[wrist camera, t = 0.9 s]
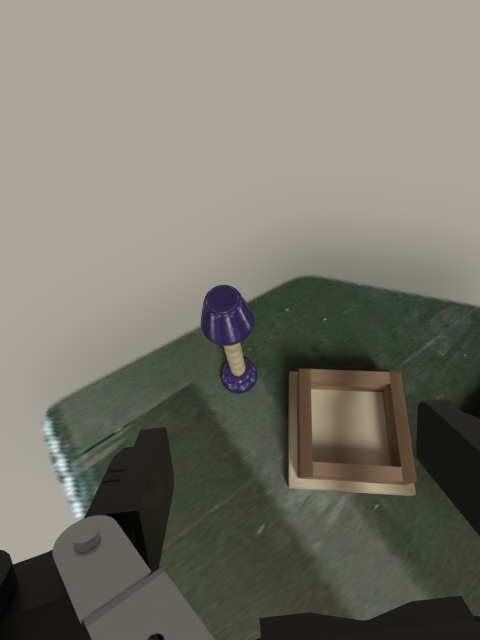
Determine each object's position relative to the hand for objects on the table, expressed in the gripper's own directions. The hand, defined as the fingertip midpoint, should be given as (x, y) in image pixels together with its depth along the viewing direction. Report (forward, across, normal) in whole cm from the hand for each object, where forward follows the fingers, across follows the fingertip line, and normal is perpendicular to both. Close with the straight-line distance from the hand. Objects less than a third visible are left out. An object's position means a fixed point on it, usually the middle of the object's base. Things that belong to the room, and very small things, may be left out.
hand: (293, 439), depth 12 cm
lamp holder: (+25, -9, +16) cm, 31 cm away
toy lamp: (+31, +2, +11) cm, 33 cm away
